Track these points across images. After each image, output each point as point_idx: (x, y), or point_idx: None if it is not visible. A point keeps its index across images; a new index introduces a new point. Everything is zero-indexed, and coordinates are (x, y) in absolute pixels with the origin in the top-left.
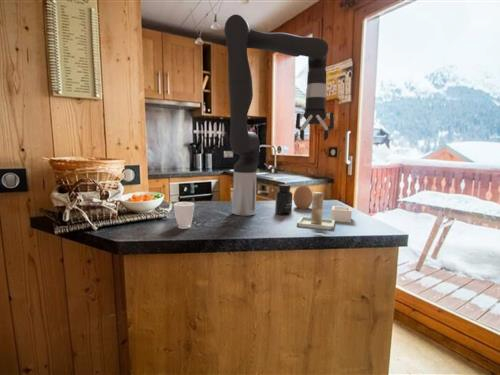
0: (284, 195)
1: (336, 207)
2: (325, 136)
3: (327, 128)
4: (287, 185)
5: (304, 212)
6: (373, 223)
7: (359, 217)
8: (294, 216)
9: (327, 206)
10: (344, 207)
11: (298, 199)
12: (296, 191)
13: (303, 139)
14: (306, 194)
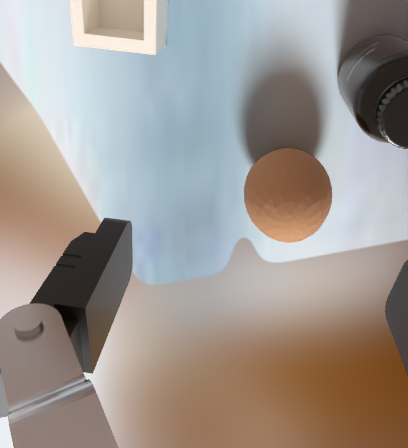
0: (406, 52)
1: (138, 39)
2: (95, 244)
3: (11, 329)
4: (401, 103)
5: (277, 122)
6: (7, 5)
7: (65, 95)
8: (326, 32)
9: (186, 242)
10: (102, 35)
11: (309, 157)
12: (324, 191)
13: (402, 282)
14: (274, 170)
